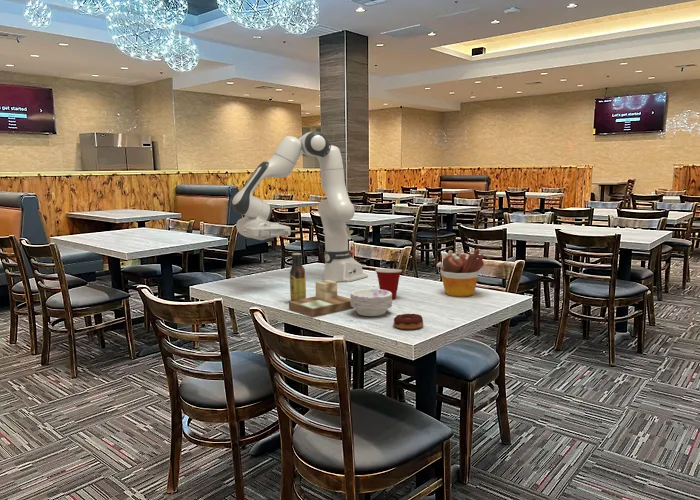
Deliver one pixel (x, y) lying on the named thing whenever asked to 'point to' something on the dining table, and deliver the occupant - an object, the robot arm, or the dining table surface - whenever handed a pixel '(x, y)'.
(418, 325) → the donut
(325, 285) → the birch cube
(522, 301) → the dining table surface
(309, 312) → the walnut board
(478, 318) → the dining table surface
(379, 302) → the paper bowls
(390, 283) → the plastic cup
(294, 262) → the sauce bottle
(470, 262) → the bucket of meat
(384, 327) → the dining table surface
